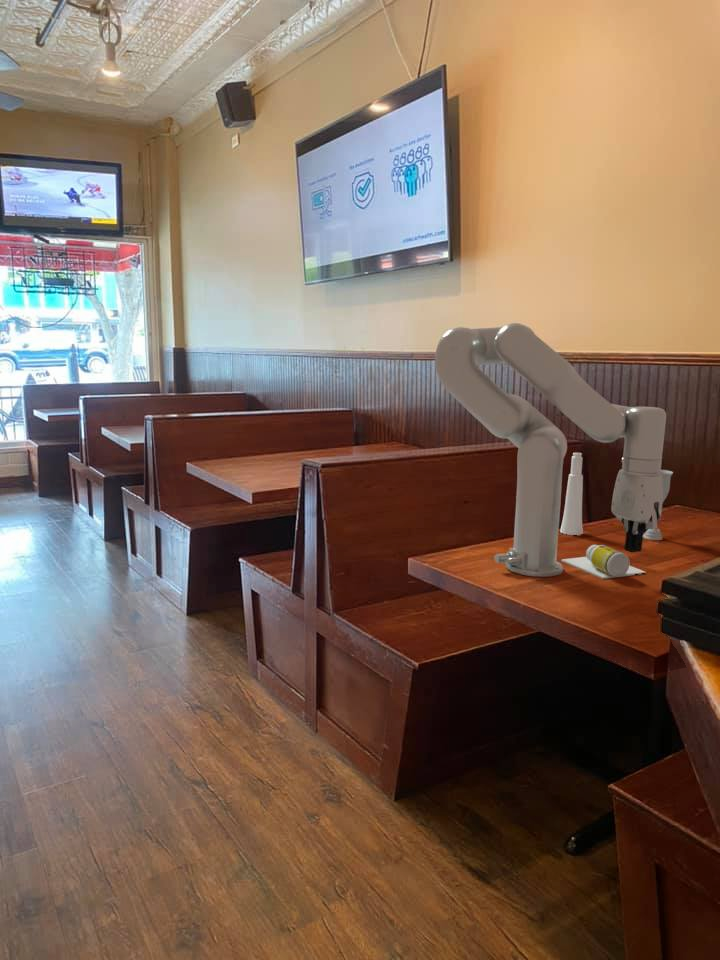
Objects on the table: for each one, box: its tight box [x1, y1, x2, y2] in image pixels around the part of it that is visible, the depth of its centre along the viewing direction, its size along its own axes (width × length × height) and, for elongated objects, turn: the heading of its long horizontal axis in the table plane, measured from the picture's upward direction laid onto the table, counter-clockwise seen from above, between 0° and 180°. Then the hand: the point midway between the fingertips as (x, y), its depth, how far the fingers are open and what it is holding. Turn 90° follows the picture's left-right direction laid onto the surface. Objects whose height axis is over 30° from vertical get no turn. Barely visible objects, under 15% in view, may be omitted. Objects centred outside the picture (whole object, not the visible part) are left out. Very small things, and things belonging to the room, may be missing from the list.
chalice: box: [643, 469, 674, 541], centre depth 186 cm, size 7×7×18 cm
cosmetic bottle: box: [559, 452, 584, 536], centre depth 188 cm, size 6×6×22 cm
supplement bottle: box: [585, 544, 631, 578], centre depth 155 cm, size 5×5×10 cm
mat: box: [560, 556, 646, 580], centre depth 160 cm, size 12×14×1 cm
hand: (632, 550), depth 149 cm, fingers closed
